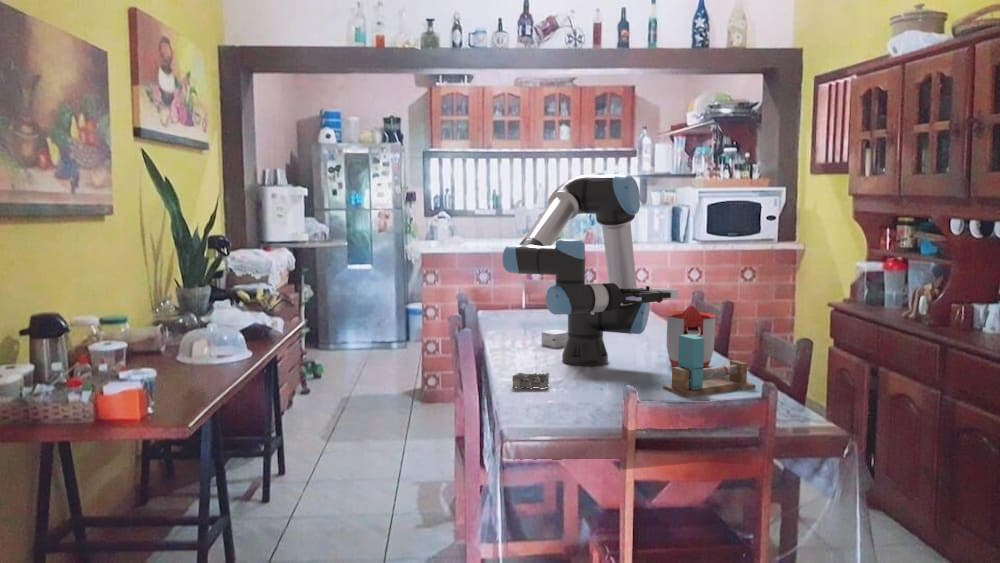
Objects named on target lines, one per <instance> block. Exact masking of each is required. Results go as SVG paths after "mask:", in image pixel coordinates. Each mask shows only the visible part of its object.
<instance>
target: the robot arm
mask: <svg viewBox="0 0 1000 563" xmlns="http://www.w3.org/2000/svg"><path fill="white" fill-rule="evenodd" d="M640 194H641V193H640V189H639V185H638V183H637V181H636V179H635V178H634V177H633V176H632V175H629V174H620V173H617V174H583V175H579V176H575V177H573V178H570V179H568V180H567V181H565V182H563V183H562V184H561V185H559V186H558V187H557V188H556V189H555V190H554V191H553V192H552V193H551V195H550V196H549V198H548V201H547V206H546V207H545V209H544V210H543V212H542V213H541V214H540V216H539V217H538V218H537V220H536V221H535V222H534V224H533V225H532V226H531V228H530V229H529V231H528V232H527V234H526V235H525V236H524V238H523V239H522V240H521V241H520V243H519V244H509V245H506V246H505V248H504V250H503V253H502V265H503V269H504V270H505V271H506V272H507V273H509V274H510V273H512V274H518V275H523V274H524V275H525V274H526V275H544V276H545V275H548V276H555V285H553V286H550V287H548V289H547V291H546V294H545V304H546V306H547V310H548V311H549V312H550V313H551V314H553V315H567V332H568V339H567V342H566V345H565V346H564V348H563V351H562V354H561V356H562V357H561V358H562V360H561V361H562V362H563V363H565V364H569V365H573V366H581V367H582V366H583V367H584V366H586V367H587V366H588V367H589V366H590V367H591V366H593V367H594V366H601V365H605V364H607V363H608V362H609V356H608V351H607V348H606V345H605V341H604V332H605V333H618V334H629V335H641V334H643V332H644V331H645V330H646V327H647V324H648V321H649V315H650V303H659V304H661V302H663V301H667V300H679V298H680V297H679V296H680V293H679V292H680V290H679V288H672V287H658V288H657V287H656V288H651V287H650V285H647V286H645V288H643V287H640V288H639V287H638V285H637V277H636V276H637V275H636V266H635V264H636V263H635V256H634V254H635V253H634V246H633V235H632V224H631V223H632V221H633V220H635V218H636V214H638V213H639V211H640V207H641V201H640V200H641V195H640ZM581 214H587V215H588V214H590V215H595V219H596V223H598V224H599V225H601V226H602V228H601V229H602V236H603V244H604V252H605V260H606V269H607V277H608V282H607V283H587V284H586V281H585V280H586V278H585V276H586V258H587V256H586V244H585V242H584V241H583V239H579V238H578V239H577V238H560V239H558V237H559V236H560V235H561V233H562V231H563V230H564V228H565V227H566V226H567V224H568V223H569V221H571V220H573V219H574V218H575V217H576V216H577V215H581ZM555 242H556V243H555ZM554 243H555V245H554Z"/></svg>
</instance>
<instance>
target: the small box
mask: <svg viewBox="0 0 1000 563" xmlns="http://www.w3.org/2000/svg"><path fill="white" fill-rule="evenodd" d="M567 339H568V331H565V330H561V329H550V330H544V331H541V345H542V346H548V347H551V348H555V349H556V348H561V347H565V345H566V342H567Z"/></svg>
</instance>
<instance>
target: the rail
mask: <svg viewBox="0 0 1000 563" xmlns="http://www.w3.org/2000/svg"><path fill="white" fill-rule="evenodd" d="M727 376H729V377H727ZM717 377H723V378H717ZM747 377H748V363H747V362H744V361H739V360H737V359H733V360H730V361H729V365H720V366H714V367H711V366H710V367H706V368H703V379H706V380H703V388H702V389H694V390H692V389H689V380H690V379H691V369H690V370H686V369H683V368H680V367H675V366H672V367H671V384H667V385H666V384H664V385H663V386H662V389H664V390H666V391H668V392H672V393H675V394H677V395H679V396H682V397H686V398H687V397H693V396H694V397H695V396H701V395H709V394H710V395H711V394H716V393H723V392H725V393H726V392H730V391H732V392H733V391H738V389H740V390H744V389H743V388H747V389H751V388H750V387H755V388H756V384H754V383H751V382H748V378H747ZM708 378H711V379H708ZM712 378H713V379H712ZM714 378H715V379H714ZM707 379H708V380H707Z"/></svg>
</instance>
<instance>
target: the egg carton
mask: <svg viewBox="0 0 1000 563" xmlns="http://www.w3.org/2000/svg"><path fill="white" fill-rule="evenodd" d="M549 378H550V372H547V373H538V374H537V373H536V372H534V373H523V372H518V373H515V374H514V375H512V388H513V387H517V388H521V387H528V388H533V387H539V388H545V387H548V388H549V386H548V384H549ZM521 389H522V388H521Z"/></svg>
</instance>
